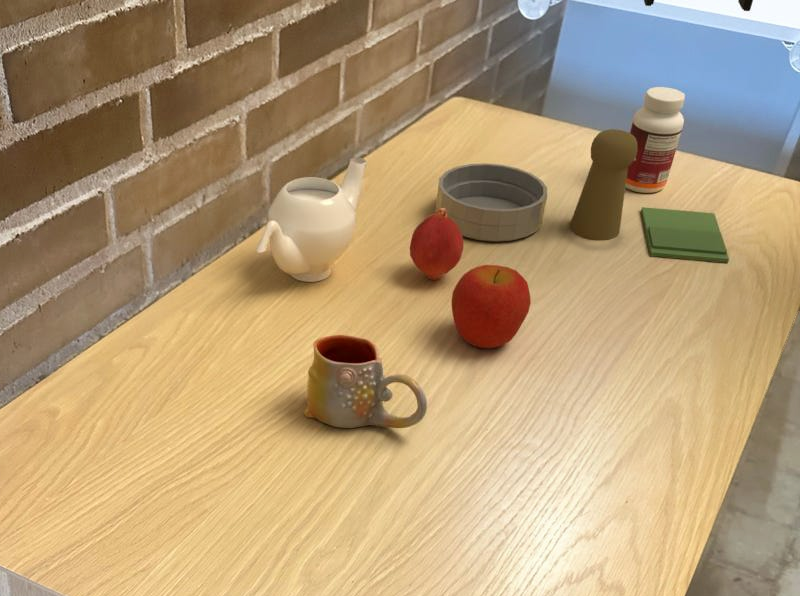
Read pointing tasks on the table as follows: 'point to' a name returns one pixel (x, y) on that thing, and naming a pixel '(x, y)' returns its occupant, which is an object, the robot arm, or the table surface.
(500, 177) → the pan
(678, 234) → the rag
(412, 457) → the table surface
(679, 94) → the pill bottle
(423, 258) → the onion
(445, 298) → the table surface
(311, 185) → the teapot
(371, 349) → the mug
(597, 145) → the brown tapered knob piece
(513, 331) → the apple
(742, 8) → the robot arm
